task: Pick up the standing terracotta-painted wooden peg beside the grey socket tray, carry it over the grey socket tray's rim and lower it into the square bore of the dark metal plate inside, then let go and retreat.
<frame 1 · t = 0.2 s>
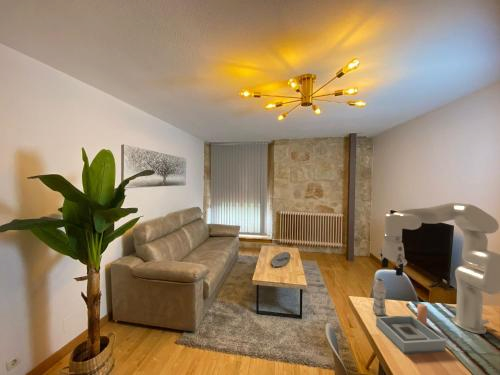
hand: (391, 271, 108), 31 cm above the table, tool pointing down, fingers open, 9 cm apart
plastic bottle: (379, 314, 122), on the table
grey socket tray: (407, 337, 103), on the table
peg: (421, 324, 113), on the table
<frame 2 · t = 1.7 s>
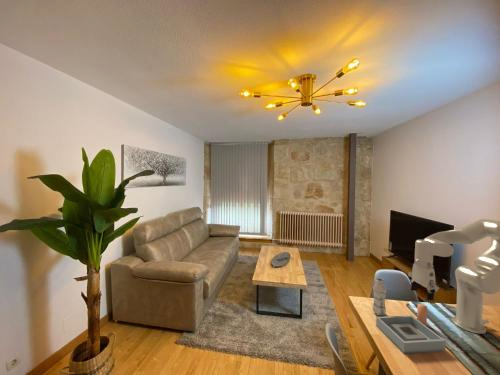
hand: (421, 294, 113), 16 cm above the table, tool pointing down, fingers open, 9 cm apart
nothing on the table moved.
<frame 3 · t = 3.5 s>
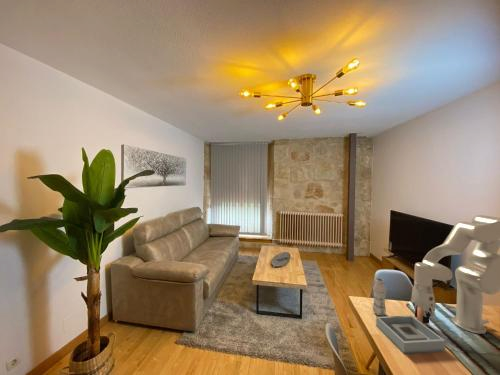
hand: (421, 319, 113), 2 cm above the table, tool pointing down, fingers closed on peg, 4 cm apart
peg: (421, 324, 113), on the table, touching gripper
everything else where it was.
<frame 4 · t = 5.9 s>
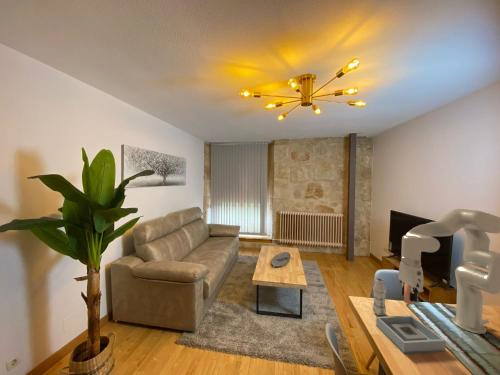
hand: (409, 297, 103), 20 cm above the table, tool pointing down, fingers closed on peg, 4 cm apart
peg: (408, 302, 103), point 17 cm above the table, touching gripper
everything else where it was.
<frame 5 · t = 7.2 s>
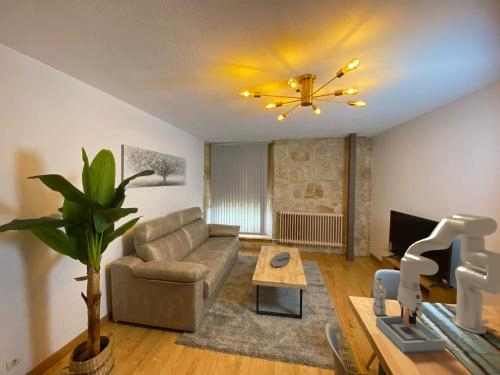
hand: (408, 320, 103), 9 cm above the table, tool pointing down, fingers closed on peg, 4 cm apart
peg: (408, 324, 103), point 7 cm above the table, touching gripper
everything else where it was.
when the fingers open (4 cm above the table, at t = 8.4 s): peg stays where it is, resting on grey socket tray.
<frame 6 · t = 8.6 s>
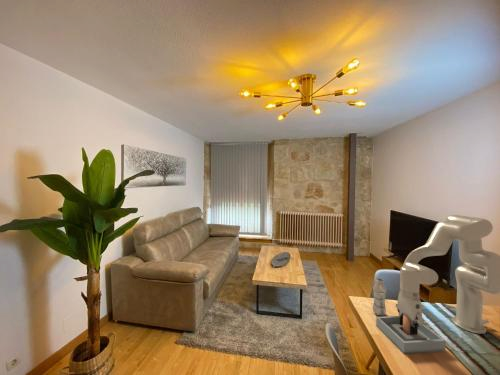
hand: (408, 328, 103), 5 cm above the table, tool pointing down, fingers open, 5 cm apart
peg: (407, 335, 103), point 1 cm above the table, touching grey socket tray
everything else where it was.
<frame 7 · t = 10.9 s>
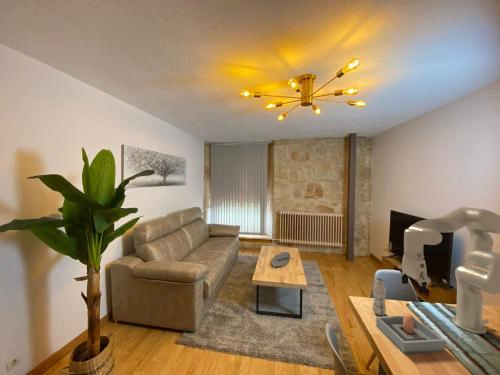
hand: (413, 288, 104), 24 cm above the table, tool pointing down, fingers open, 9 cm apart
nothing on the table moved.
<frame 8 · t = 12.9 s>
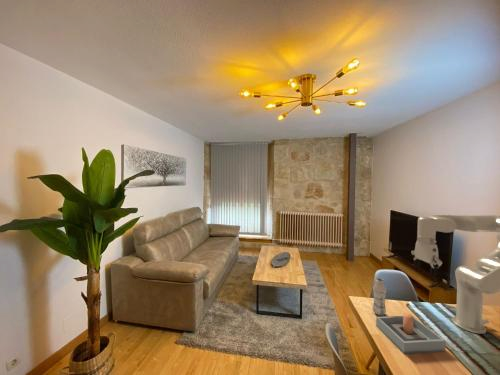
hand: (425, 271, 114), 28 cm above the table, tool pointing down, fingers open, 9 cm apart
nothing on the table moved.
at the end: peg 0.0 cm off-centre on the grey socket tray, point 1.0 cm above the grey socket tray's base; peg tilted 0°; the gripper is holding nothing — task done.
